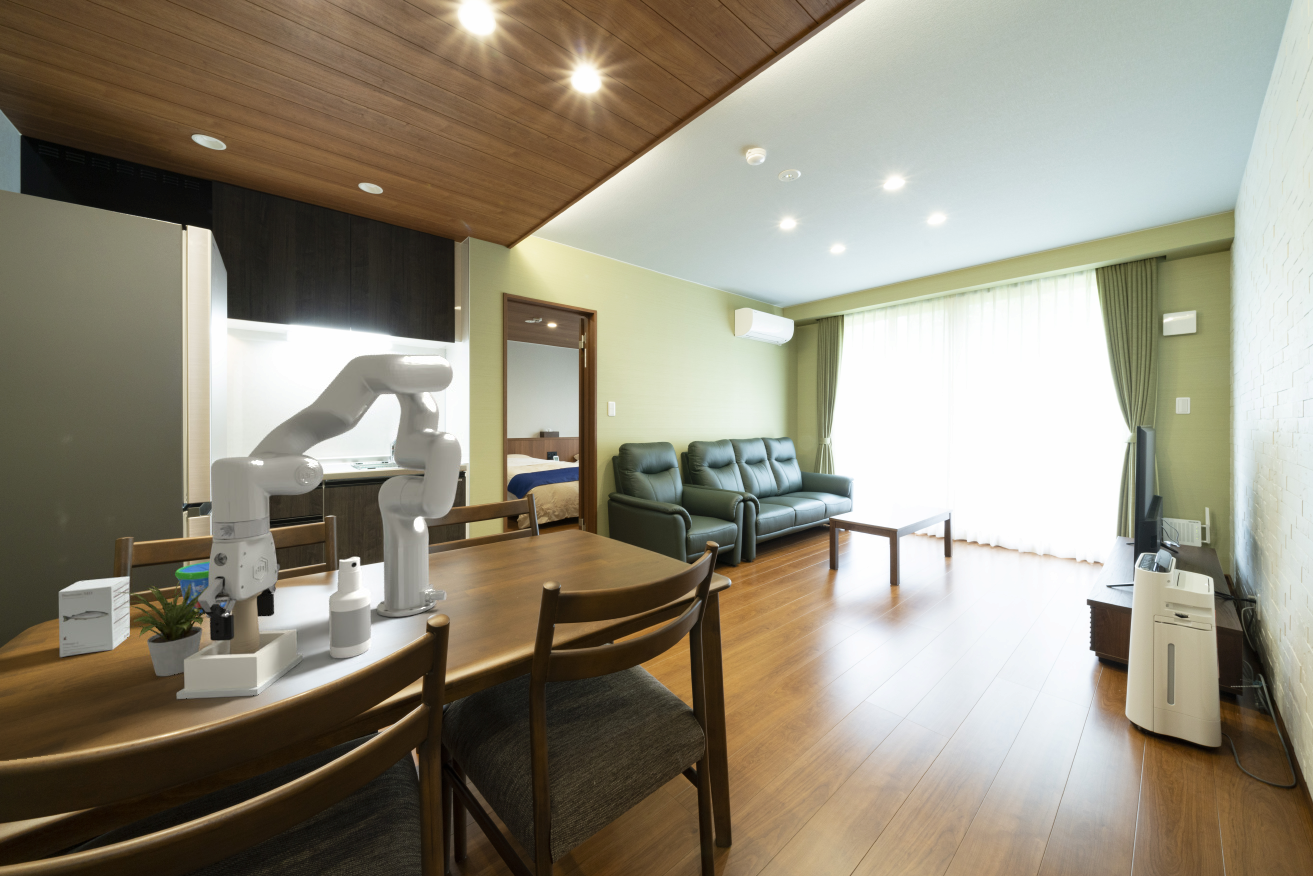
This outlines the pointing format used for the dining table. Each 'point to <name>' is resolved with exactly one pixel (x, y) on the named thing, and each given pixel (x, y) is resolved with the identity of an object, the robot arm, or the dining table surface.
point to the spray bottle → (349, 612)
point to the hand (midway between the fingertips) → (244, 627)
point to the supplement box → (93, 615)
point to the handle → (245, 626)
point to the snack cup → (194, 580)
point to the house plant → (172, 631)
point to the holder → (239, 667)
